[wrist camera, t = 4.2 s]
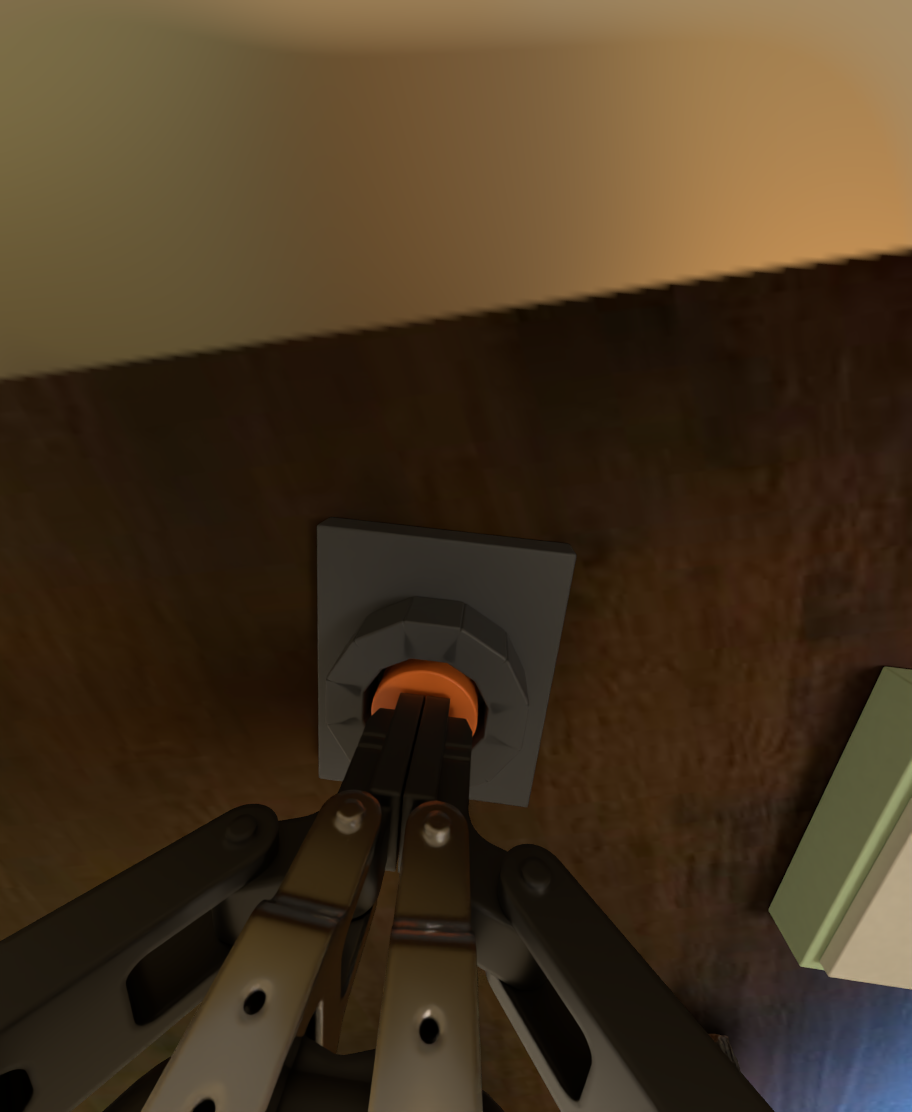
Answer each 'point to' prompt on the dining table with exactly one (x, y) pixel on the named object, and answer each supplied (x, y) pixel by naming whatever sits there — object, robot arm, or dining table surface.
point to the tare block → (441, 635)
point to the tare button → (429, 687)
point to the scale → (859, 853)
